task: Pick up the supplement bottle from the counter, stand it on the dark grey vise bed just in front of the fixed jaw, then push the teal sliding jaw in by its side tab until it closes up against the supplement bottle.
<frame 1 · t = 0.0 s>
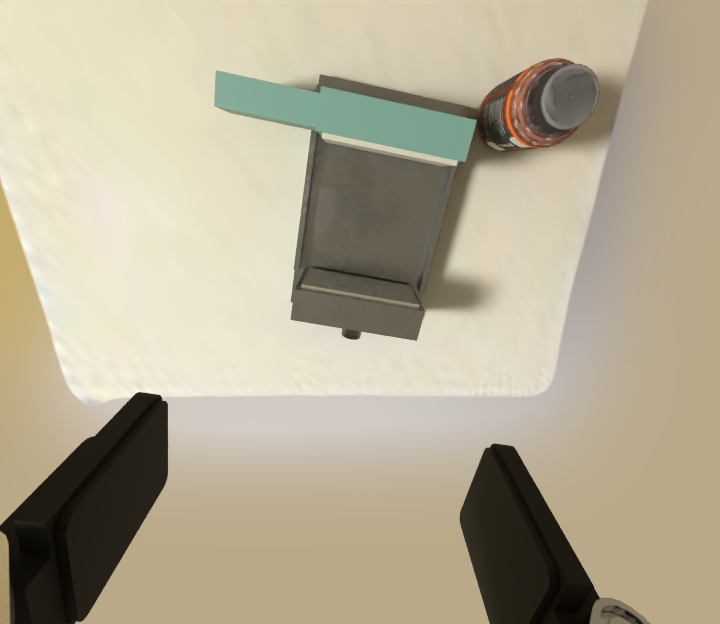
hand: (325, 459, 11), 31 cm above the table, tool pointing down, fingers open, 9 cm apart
vise: (371, 212, 39), on the table
jaw: (344, 122, 31), point 5 cm above the table, slide at 0.0 cm
supplement bottle: (505, 118, 36), on the table
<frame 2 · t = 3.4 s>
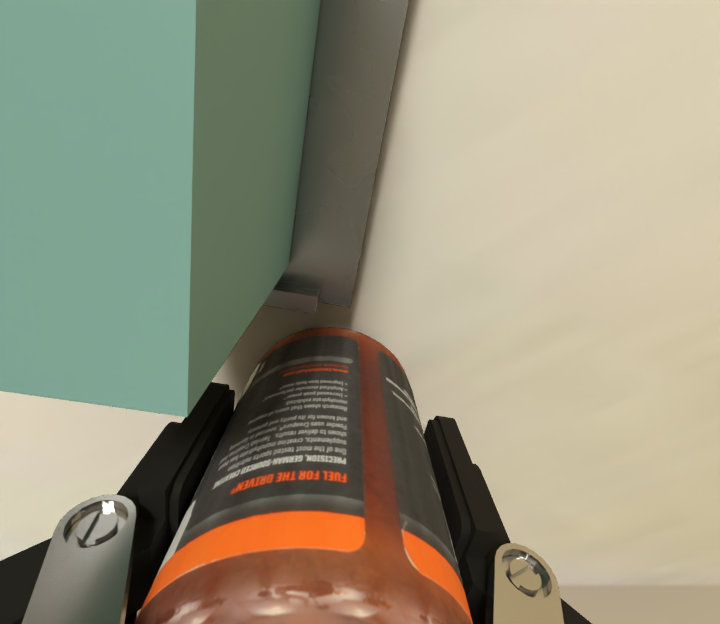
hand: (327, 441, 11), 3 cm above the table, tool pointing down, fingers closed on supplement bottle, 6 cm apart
supplement bottle: (331, 390, 14), on the table, touching gripper
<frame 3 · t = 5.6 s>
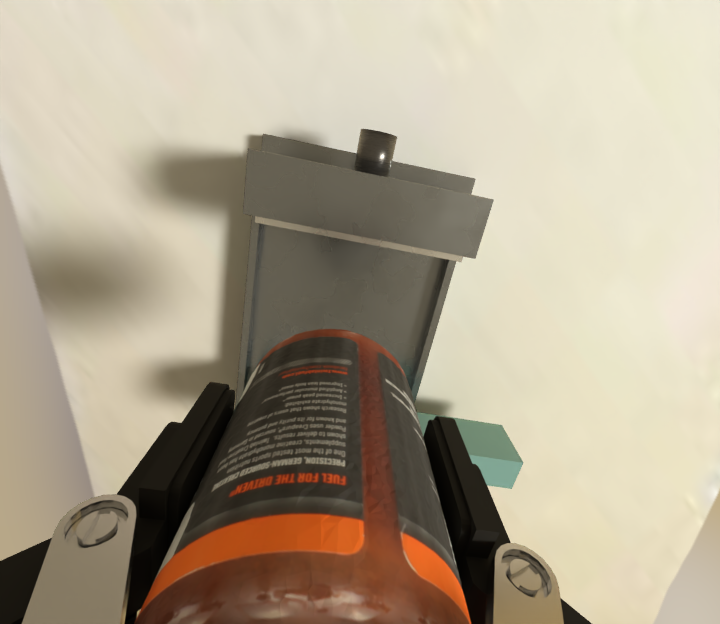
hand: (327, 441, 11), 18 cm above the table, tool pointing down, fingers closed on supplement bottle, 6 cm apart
vise: (342, 307, 29), on the table
jaw: (376, 430, 27), point 5 cm above the table, slide at 0.0 cm
supplement bottle: (331, 391, 14), point 15 cm above the table, touching gripper
when the fingers open (5 cm above the table, at t = 8.0 s): supplement bottle drops 1 cm, resting on vise.
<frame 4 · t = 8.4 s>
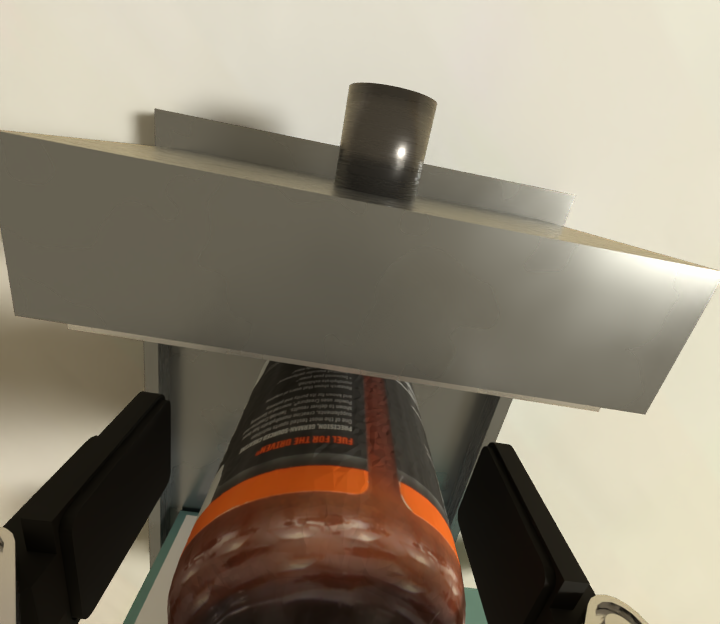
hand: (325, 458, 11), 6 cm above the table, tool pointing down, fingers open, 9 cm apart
vise: (326, 408, 17), on the table
supplement bottle: (336, 379, 15), point 1 cm above the table, touching vise
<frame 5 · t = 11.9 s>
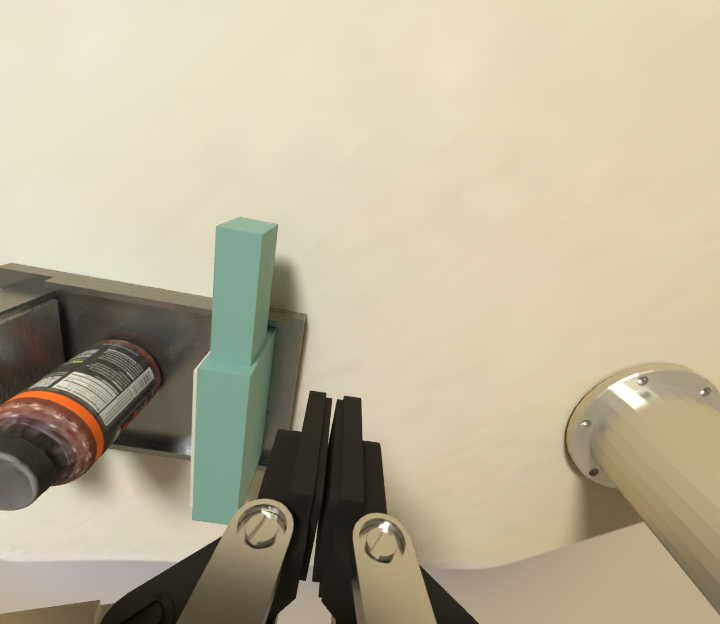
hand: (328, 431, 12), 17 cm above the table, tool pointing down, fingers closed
vise: (163, 368, 30), on the table
jaw: (237, 371, 25), point 5 cm above the table, slide at 0.0 cm
supplement bottle: (127, 368, 29), point 1 cm above the table, touching vise
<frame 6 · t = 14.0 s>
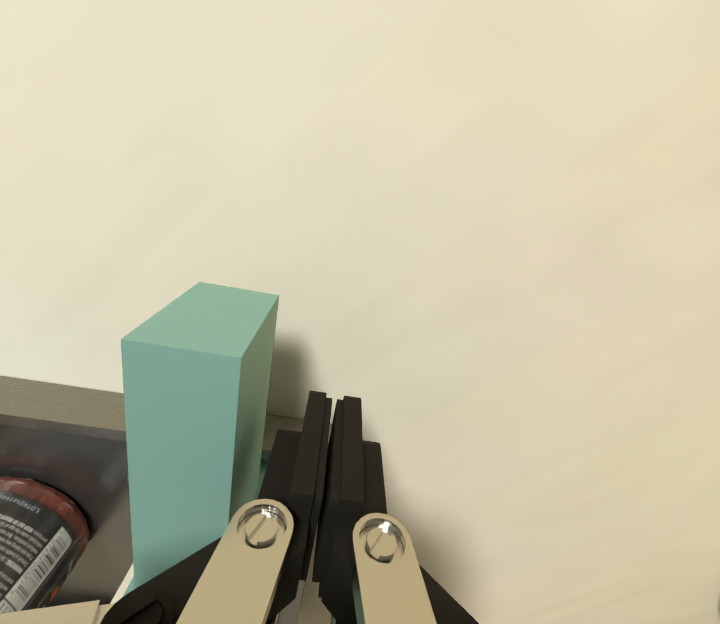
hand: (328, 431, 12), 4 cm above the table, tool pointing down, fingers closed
vise: (97, 504, 19), on the table
jaw: (202, 561, 13), point 5 cm above the table, slide at 0.3 cm, touching gripper
supplement bottle: (34, 514, 17), point 1 cm above the table, touching vise
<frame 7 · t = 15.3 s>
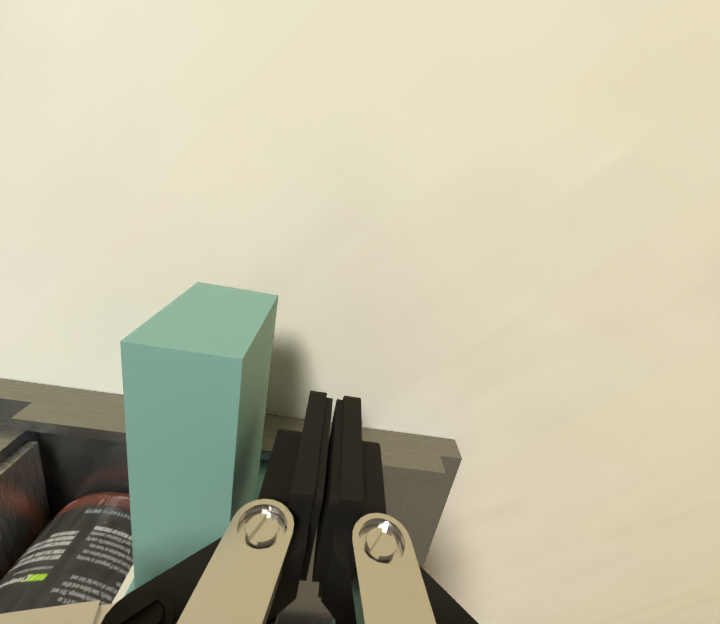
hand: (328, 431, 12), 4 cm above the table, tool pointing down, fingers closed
vise: (213, 519, 19), on the table
jaw: (202, 562, 13), point 5 cm above the table, slide at 6.2 cm, touching supplement bottle, gripper
supplement bottle: (128, 527, 18), point 1 cm above the table, touching jaw, vise
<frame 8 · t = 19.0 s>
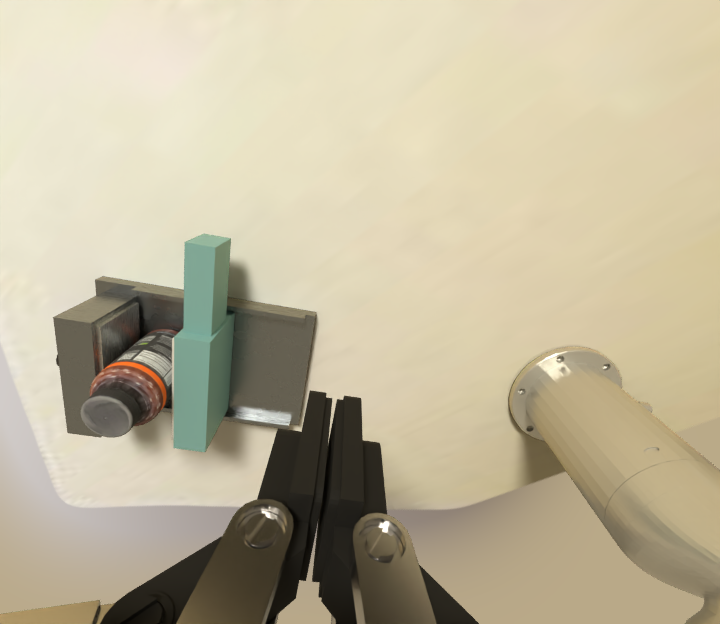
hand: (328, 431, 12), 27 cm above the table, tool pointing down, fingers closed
vise: (209, 353, 41), on the table
jaw: (204, 342, 35), point 5 cm above the table, slide at 6.2 cm
supplement bottle: (171, 351, 40), point 1 cm above the table, touching vise
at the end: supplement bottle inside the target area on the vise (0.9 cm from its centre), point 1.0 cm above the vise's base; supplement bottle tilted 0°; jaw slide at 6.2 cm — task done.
